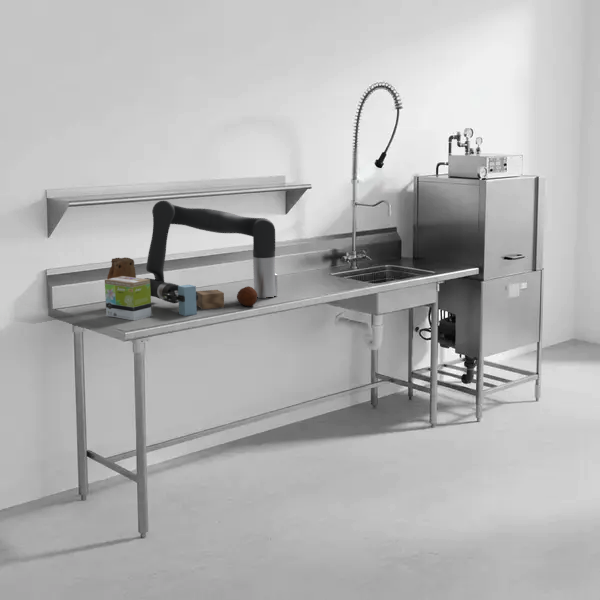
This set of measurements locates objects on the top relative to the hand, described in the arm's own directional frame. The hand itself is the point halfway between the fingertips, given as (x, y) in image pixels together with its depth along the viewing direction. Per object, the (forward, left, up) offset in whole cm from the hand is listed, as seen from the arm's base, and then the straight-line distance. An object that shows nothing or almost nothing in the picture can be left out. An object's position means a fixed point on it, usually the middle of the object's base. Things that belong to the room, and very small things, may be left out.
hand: (190, 298), depth 340 cm
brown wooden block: (-15, -12, -7) cm, 20 cm away
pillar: (0, -3, -7) cm, 7 cm away
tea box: (+20, -13, -7) cm, 25 cm away
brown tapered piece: (+14, -32, -7) cm, 35 cm away
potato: (-28, -4, -7) cm, 29 cm away
